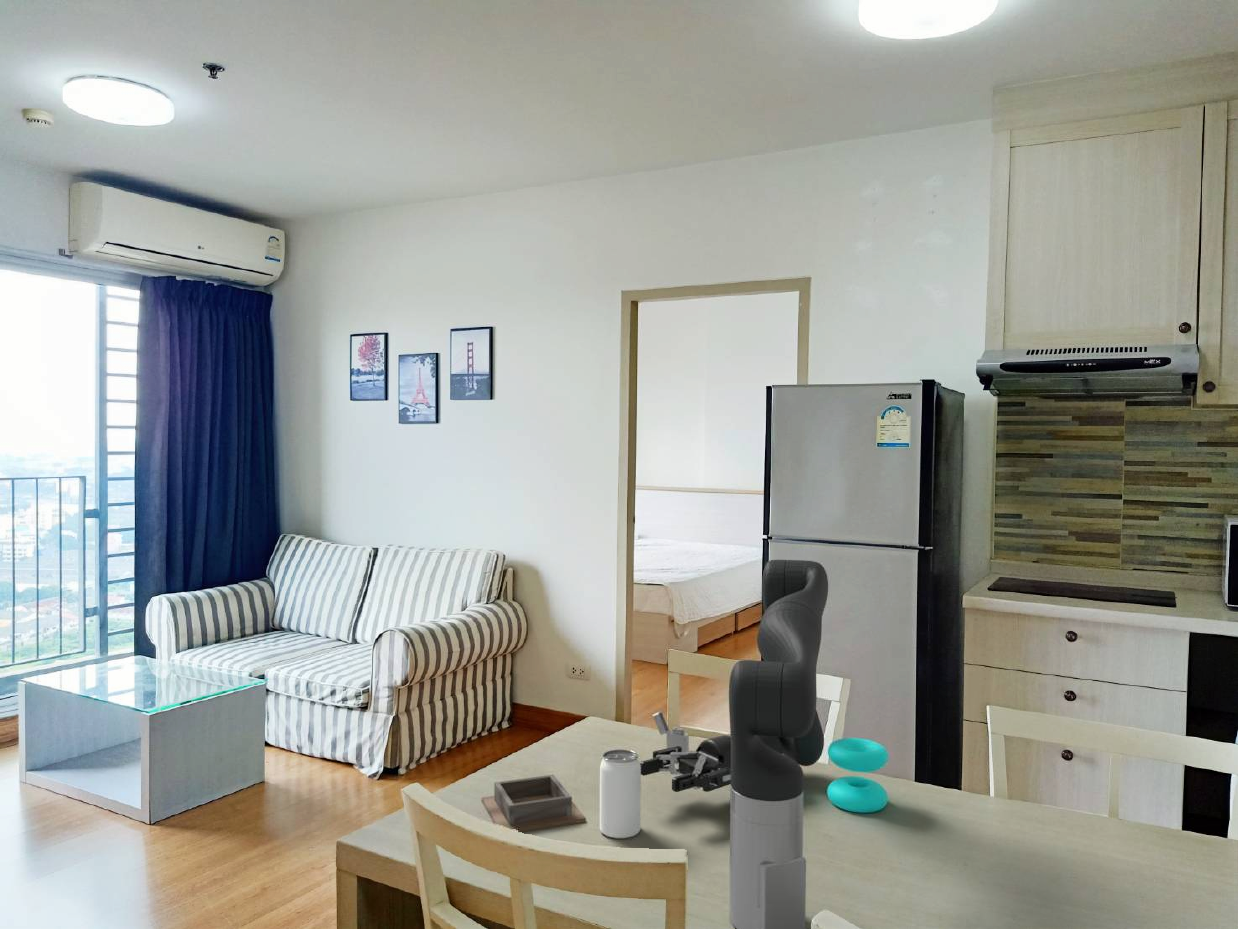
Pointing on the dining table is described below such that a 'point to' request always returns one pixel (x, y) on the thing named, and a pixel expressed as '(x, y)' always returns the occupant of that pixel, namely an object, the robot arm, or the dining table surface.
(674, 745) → the lighter
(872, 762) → the donuts
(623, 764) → the can
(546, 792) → the can stand
